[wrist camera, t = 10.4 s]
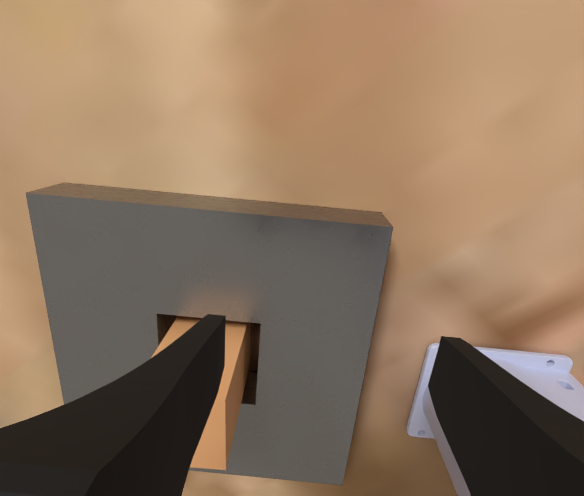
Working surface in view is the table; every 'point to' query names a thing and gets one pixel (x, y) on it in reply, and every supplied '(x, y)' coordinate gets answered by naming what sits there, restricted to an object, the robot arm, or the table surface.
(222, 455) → the tan square post
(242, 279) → the collar
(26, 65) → the table surface
